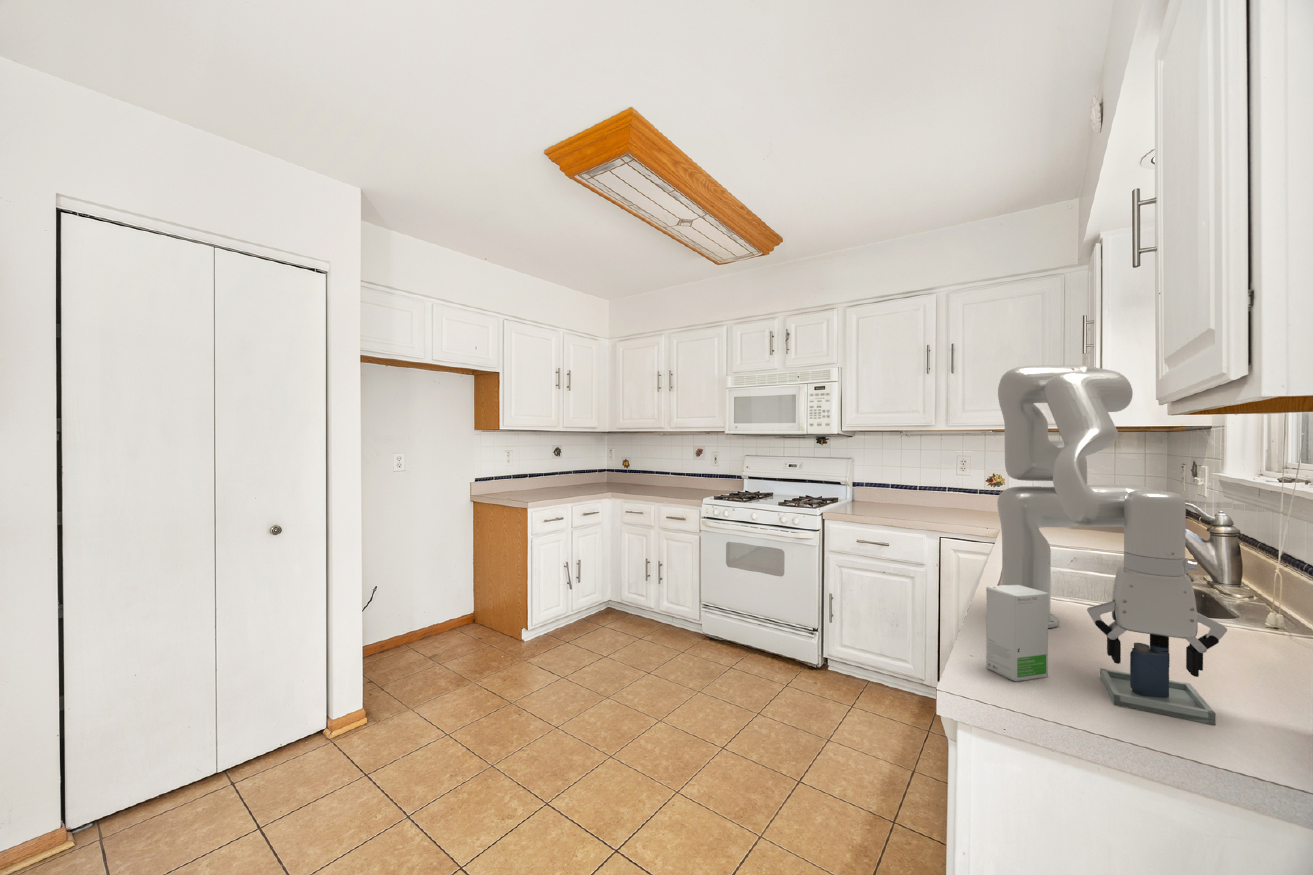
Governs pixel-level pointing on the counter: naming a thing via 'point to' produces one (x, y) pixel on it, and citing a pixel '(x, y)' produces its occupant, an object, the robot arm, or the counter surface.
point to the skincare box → (1017, 632)
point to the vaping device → (1150, 667)
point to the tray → (1158, 698)
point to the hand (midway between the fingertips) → (1152, 666)
